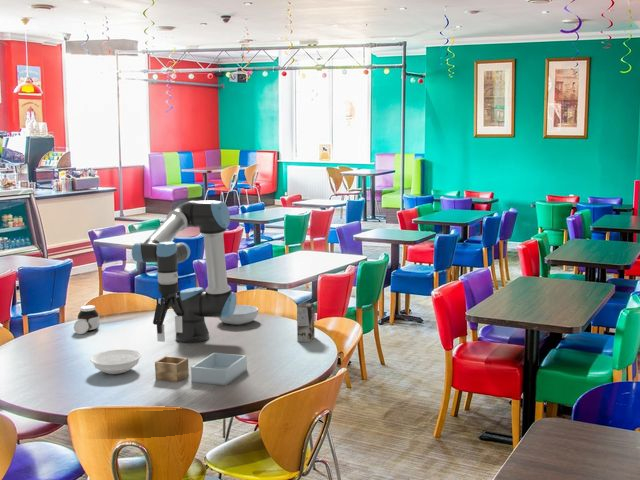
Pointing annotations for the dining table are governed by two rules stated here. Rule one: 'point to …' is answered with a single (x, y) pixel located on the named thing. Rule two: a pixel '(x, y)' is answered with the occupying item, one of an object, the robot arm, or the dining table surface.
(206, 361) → the plastic tote
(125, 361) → the bowl
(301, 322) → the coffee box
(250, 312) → the serving bowl
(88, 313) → the spread jar
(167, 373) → the wooden crate
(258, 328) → the dining table surface
